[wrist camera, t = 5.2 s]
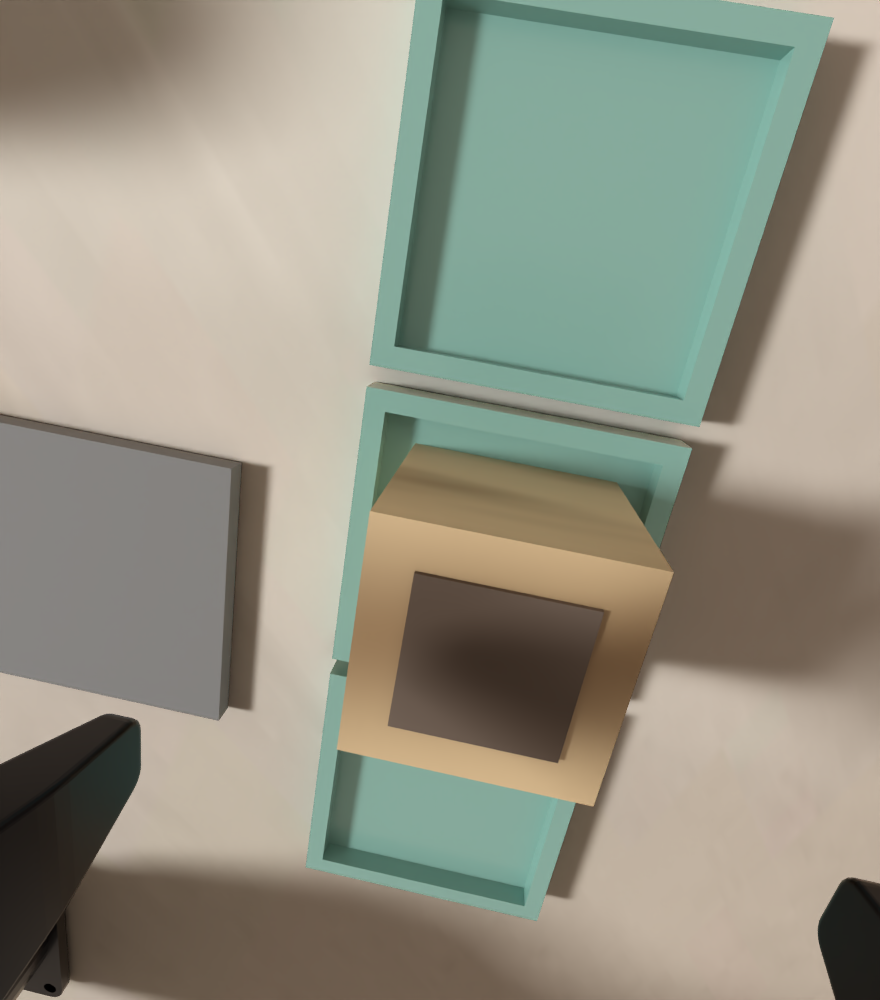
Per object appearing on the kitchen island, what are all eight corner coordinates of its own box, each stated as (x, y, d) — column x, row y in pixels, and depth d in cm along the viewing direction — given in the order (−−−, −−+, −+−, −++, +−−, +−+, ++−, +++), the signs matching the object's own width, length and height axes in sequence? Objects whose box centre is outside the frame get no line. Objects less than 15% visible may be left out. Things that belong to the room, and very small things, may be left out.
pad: (227, 707, 18) (218, 720, 17) (-15, 654, 18) (-32, 665, 18) (241, 462, 15) (231, 468, 15) (-44, 406, 15) (-64, 409, 15)
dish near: (687, 419, 14) (699, 427, 13) (377, 361, 14) (369, 364, 13) (808, 40, 11) (833, 17, 10) (427, -19, 11) (421, -46, 11)
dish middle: (598, 695, 16) (603, 716, 15) (341, 640, 17) (331, 658, 16) (680, 440, 14) (692, 448, 13) (375, 381, 14) (366, 386, 13)
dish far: (535, 893, 19) (537, 920, 18) (314, 842, 19) (305, 867, 18) (594, 709, 16) (599, 731, 15) (338, 654, 17) (330, 673, 16)
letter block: (567, 655, 16) (594, 810, 11) (387, 617, 16) (335, 753, 11) (616, 482, 14) (676, 575, 9) (415, 443, 14) (368, 512, 9)
